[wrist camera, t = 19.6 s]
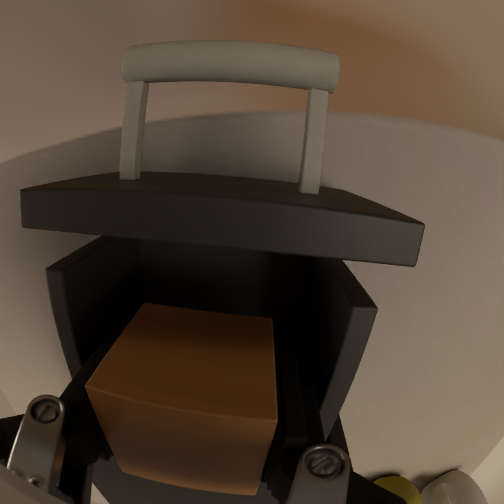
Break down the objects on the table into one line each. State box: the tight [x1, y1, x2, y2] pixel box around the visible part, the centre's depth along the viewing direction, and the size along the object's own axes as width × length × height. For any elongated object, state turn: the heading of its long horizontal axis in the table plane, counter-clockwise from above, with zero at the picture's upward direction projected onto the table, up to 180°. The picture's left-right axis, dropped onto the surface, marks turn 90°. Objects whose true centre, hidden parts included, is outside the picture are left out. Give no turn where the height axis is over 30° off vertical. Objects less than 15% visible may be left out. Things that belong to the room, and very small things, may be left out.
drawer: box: [20, 40, 425, 441], centre depth 11 cm, size 18×11×8 cm, turn 174°
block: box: [85, 303, 278, 495], centre depth 8 cm, size 4×4×4 cm
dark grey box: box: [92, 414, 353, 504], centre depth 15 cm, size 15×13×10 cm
